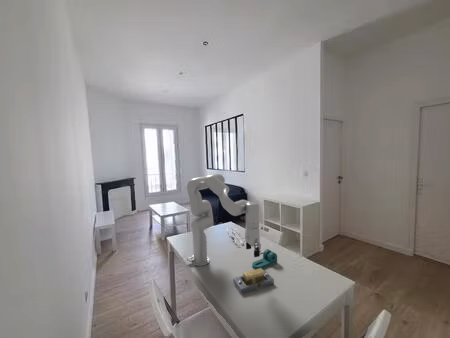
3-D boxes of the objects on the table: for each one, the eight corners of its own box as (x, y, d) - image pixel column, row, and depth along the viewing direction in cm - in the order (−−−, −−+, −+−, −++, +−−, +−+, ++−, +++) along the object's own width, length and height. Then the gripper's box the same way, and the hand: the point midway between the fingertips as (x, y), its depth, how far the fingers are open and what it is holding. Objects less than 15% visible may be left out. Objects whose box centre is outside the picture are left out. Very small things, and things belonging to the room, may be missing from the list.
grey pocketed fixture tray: (241, 294, 111) (240, 287, 111) (233, 282, 121) (233, 276, 121) (273, 284, 119) (273, 278, 118) (264, 274, 128) (264, 268, 128)
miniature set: (224, 230, 199) (236, 231, 202) (236, 249, 165) (250, 249, 169) (225, 224, 198) (237, 224, 201) (237, 241, 165) (251, 241, 168)
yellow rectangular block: (246, 288, 116) (246, 276, 115) (243, 284, 120) (243, 272, 119) (264, 283, 120) (264, 271, 120) (261, 279, 124) (261, 268, 123)
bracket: (270, 258, 147) (270, 248, 146) (277, 263, 141) (277, 252, 141) (250, 266, 138) (250, 255, 137) (256, 271, 132) (256, 259, 132)
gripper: (240, 220, 124) (240, 247, 126) (254, 230, 108) (254, 261, 110) (251, 218, 127) (251, 245, 128) (266, 228, 111) (266, 258, 112)
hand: (252, 252), depth 119 cm, fingers open, 9 cm apart
